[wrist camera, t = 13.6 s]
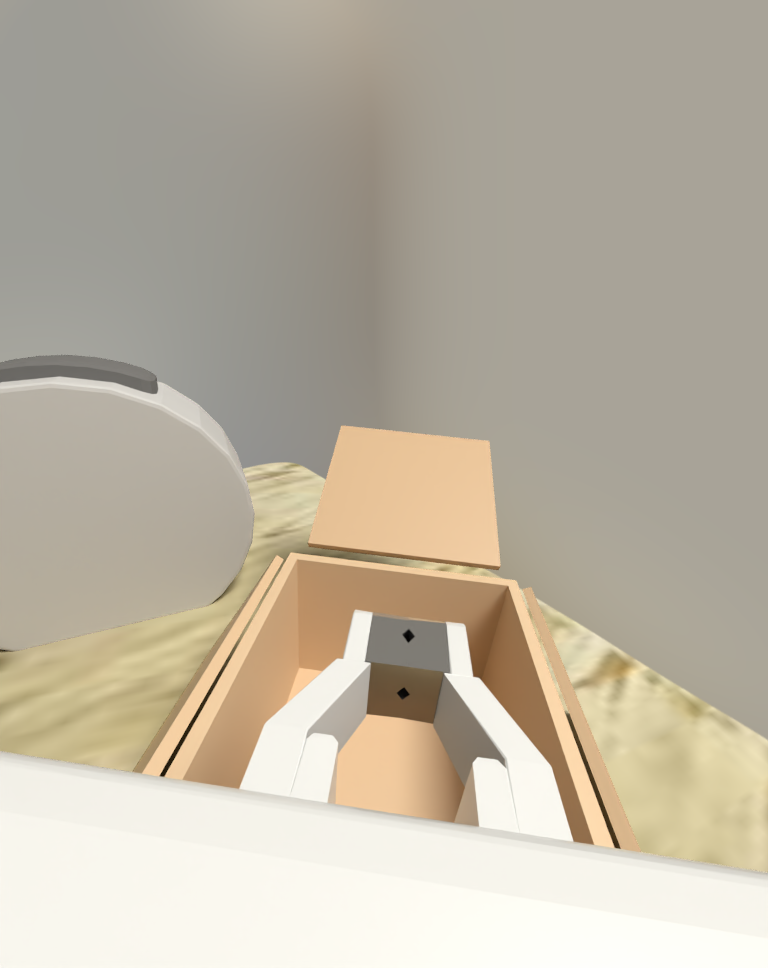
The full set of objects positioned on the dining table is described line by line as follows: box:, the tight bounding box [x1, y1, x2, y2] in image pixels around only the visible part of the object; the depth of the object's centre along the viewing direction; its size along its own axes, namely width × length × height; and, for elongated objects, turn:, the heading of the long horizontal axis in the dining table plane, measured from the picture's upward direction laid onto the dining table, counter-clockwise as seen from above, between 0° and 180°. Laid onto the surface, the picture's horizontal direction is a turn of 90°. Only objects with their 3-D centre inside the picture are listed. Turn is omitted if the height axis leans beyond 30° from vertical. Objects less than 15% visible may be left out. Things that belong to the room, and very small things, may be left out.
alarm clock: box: [0, 355, 254, 651], centre depth 28 cm, size 21×8×20 cm, turn 116°
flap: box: [308, 426, 500, 570], centre depth 26 cm, size 1×12×11 cm
